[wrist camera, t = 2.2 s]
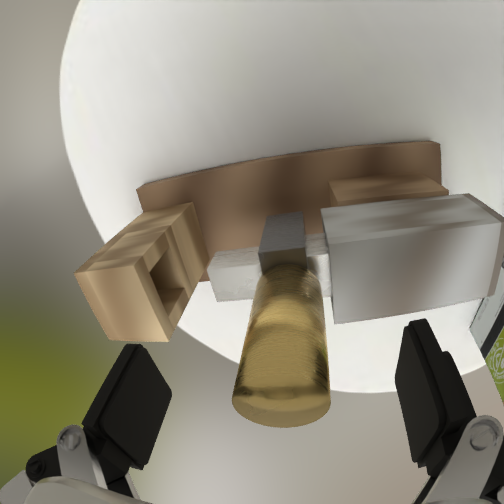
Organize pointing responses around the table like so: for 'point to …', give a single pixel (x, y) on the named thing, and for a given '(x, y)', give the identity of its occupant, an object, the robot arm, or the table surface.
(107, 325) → the socket block
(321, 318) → the brass knob sliding bolt
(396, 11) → the table surface
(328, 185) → the base
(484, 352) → the tea box
